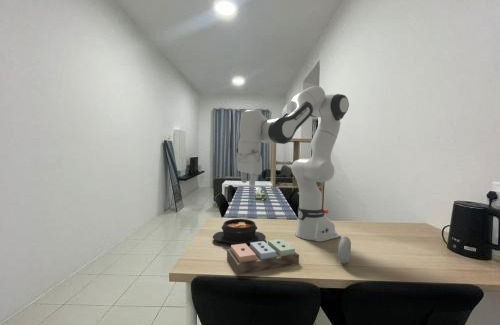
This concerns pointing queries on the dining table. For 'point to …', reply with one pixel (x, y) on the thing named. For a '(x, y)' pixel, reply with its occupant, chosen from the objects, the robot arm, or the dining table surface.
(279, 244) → the counting block
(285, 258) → the wooden counting block tray
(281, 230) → the dining table surface
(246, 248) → the counting block
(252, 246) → the counting block
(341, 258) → the donut
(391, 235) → the dining table surface
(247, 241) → the casserole
